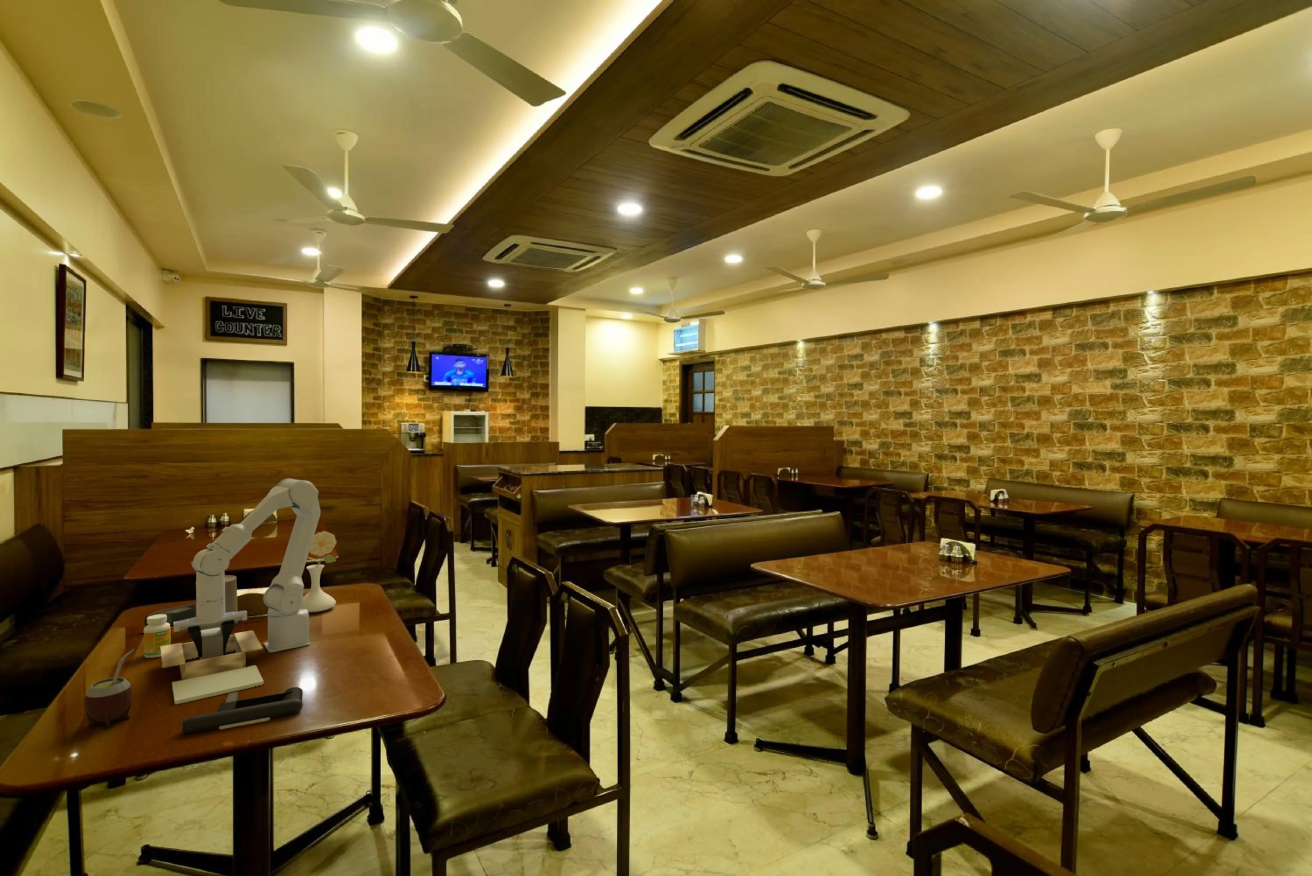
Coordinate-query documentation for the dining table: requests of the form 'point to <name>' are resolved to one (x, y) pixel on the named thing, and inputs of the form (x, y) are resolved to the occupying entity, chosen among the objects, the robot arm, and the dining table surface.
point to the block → (211, 643)
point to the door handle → (246, 711)
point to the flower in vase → (316, 596)
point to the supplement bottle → (156, 635)
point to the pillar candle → (228, 599)
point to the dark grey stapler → (176, 614)
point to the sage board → (216, 684)
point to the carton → (182, 652)
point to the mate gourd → (109, 700)
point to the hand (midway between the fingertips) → (211, 654)
